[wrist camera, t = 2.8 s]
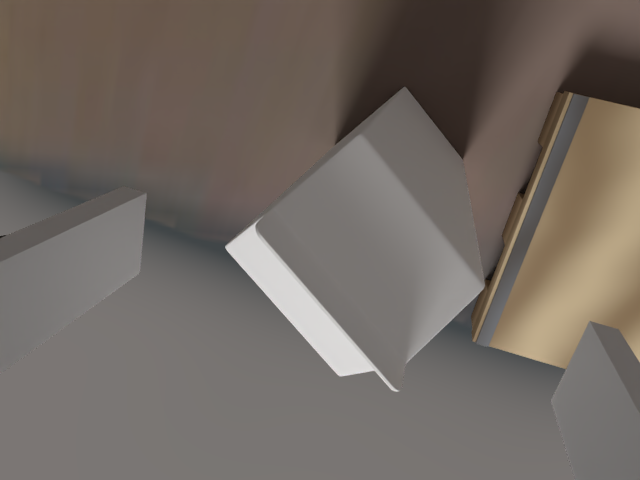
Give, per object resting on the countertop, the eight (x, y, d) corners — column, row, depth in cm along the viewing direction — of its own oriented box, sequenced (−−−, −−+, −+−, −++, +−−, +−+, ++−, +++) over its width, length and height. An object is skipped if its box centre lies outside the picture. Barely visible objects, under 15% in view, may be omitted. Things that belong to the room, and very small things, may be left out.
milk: (405, 85, 32) (343, 144, 12) (464, 161, 33) (504, 340, 12) (332, 147, 34) (174, 286, 14) (389, 217, 35) (318, 444, 15)
